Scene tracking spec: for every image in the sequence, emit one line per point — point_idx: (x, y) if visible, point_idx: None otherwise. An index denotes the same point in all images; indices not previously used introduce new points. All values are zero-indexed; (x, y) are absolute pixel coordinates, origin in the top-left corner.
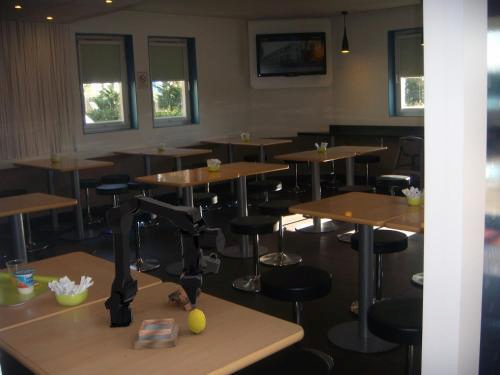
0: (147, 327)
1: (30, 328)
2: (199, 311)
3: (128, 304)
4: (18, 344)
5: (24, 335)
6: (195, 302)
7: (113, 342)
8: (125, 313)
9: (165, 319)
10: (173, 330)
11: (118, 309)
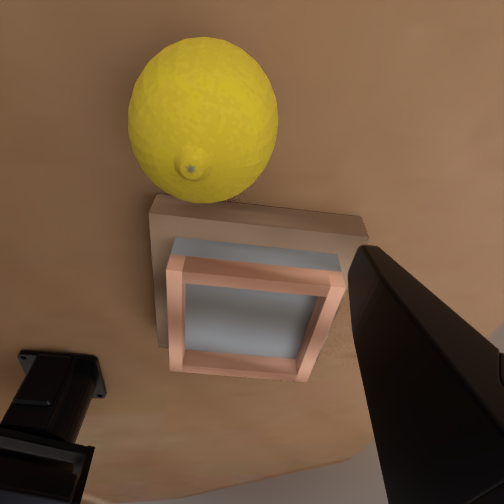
0: (219, 345)
1: (106, 485)
2: (212, 126)
3: (16, 427)
4: (194, 488)
5: (146, 487)
6: (390, 257)
7: (231, 381)
8: (65, 406)
9: (175, 302)
10: (230, 239)
11: (91, 449)
